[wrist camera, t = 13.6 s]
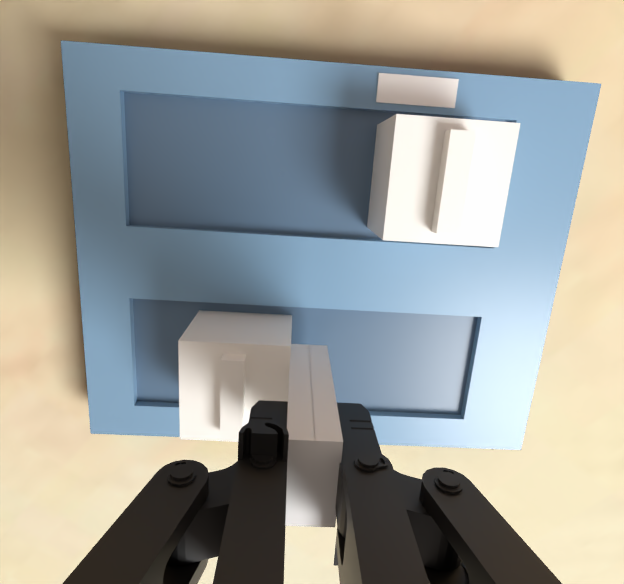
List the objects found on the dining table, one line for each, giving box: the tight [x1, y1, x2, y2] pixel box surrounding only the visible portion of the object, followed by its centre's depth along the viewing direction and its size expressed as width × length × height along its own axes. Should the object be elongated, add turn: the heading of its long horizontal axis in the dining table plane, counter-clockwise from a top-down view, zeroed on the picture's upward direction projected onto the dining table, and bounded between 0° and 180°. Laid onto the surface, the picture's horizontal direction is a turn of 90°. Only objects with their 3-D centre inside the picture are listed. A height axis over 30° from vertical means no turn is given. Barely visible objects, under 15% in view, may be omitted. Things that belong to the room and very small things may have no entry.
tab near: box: [367, 114, 520, 247], centre depth 16 cm, size 4×4×4 cm
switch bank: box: [61, 40, 601, 450], centre depth 19 cm, size 20×16×2 cm
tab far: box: [178, 310, 292, 442], centre depth 18 cm, size 4×4×4 cm
